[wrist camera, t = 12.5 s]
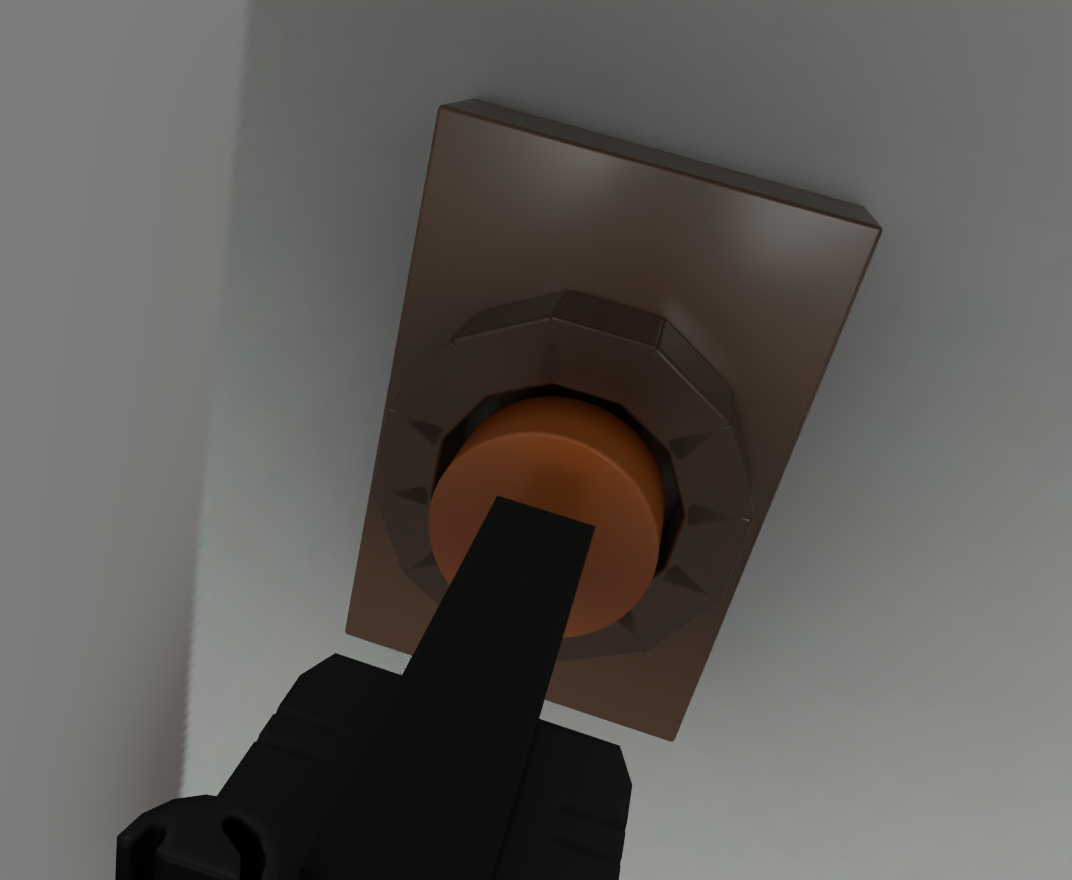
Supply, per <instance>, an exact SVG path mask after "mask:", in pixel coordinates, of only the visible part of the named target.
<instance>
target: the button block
mask: <svg viewBox="0 0 1072 880" xmlns="http://www.w3.org/2000/svg"><path fill="white" fill-rule="evenodd" d="M881 233H882V227H881V226H880V225H879V224H878V223H877V221H876V220H875V219H874V218H873V216H872V215H871V214H870V213H869V212H868V210H867V209H866V208H864V207H862V206H859V205H855V204H852V203H848V202H844V201H841V200H837V199H833V198H830V197H826V196H823V195H819V194H815V193H812V192H808V191H804V190H801V189H797V188H794V187H790V186H786V185H783V184H779V183H776V182H772V181H768V180H765V179H761V178H757V177H754V176H750V175H747V174H743V173H739V172H736V171H732V170H728V169H725V168H721V167H718V166H714V165H710V164H707V163H703V162H699V161H696V160H692V159H689V158H685V157H681V156H678V155H674V154H671V153H667V152H663V151H660V150H656V149H652V148H649V147H645V146H642V145H638V144H634V143H631V142H627V141H623V140H620V139H616V138H613V137H609V136H605V135H602V134H598V133H595V132H591V131H587V130H584V129H580V128H576V127H573V126H569V125H566V124H562V123H558V122H555V121H551V120H547V119H544V118H540V117H537V116H533V115H529V114H526V113H522V112H518V111H515V110H511V109H508V108H504V107H500V106H497V105H493V104H490V103H486V102H482V101H479V100H475V99H471V100H465V101H460V102H455V103H450V104H444V105H440V106H439V108H438V113H437V118H436V124H435V129H434V135H433V141H432V146H431V152H430V157H429V163H428V169H427V174H426V180H425V185H424V191H423V197H422V202H421V208H420V213H419V219H418V225H417V230H416V236H415V241H414V247H413V253H412V258H411V264H410V270H409V275H408V281H407V286H406V292H405V298H404V303H403V309H402V314H401V320H400V326H399V331H398V337H397V342H396V348H395V354H394V359H393V365H392V370H391V376H390V382H389V387H388V393H387V398H386V404H385V410H384V415H383V421H382V427H381V432H380V438H379V443H378V449H377V455H376V460H375V466H374V471H373V477H372V483H371V488H370V494H369V499H368V505H367V511H366V516H365V522H364V527H363V533H362V539H361V544H360V550H359V556H358V561H357V567H356V572H355V578H354V584H353V589H352V595H351V600H350V606H349V612H348V617H347V623H346V628H345V632H346V634H348V635H351V636H354V637H358V638H361V639H364V640H367V641H370V642H373V643H376V644H379V645H382V646H385V647H388V648H391V649H394V650H397V651H400V652H403V653H406V654H409V655H412V656H413V654H414V652H415V650H416V648H417V646H418V644H419V642H420V640H421V639H422V637H423V635H424V633H425V631H426V629H427V627H428V625H429V623H430V622H431V620H432V618H433V616H434V614H435V612H436V610H437V608H438V606H439V605H440V603H441V601H442V599H443V597H444V595H445V593H446V591H447V589H448V588H449V586H450V585H449V584H448V582H447V581H446V579H445V577H444V576H443V574H442V572H441V571H440V569H439V566H438V564H437V562H436V560H435V557H434V554H433V550H432V547H431V543H430V536H429V519H428V517H429V510H430V503H431V500H432V496H433V493H434V490H435V488H436V486H437V484H438V482H439V480H440V478H441V477H442V475H443V474H444V472H445V471H446V469H447V468H448V466H449V465H450V463H451V462H452V460H453V459H454V458H455V456H456V455H457V453H458V452H459V450H460V449H461V447H462V446H463V444H464V443H465V441H466V440H467V438H468V437H469V436H470V434H471V433H472V431H473V430H474V429H475V428H476V427H477V426H478V425H479V424H480V423H481V422H482V421H483V420H484V419H486V418H487V417H488V416H489V415H490V414H492V413H494V412H495V411H497V410H499V409H500V408H502V407H504V406H507V405H509V404H511V403H514V402H517V401H521V400H524V399H528V398H535V397H549V396H557V397H566V398H572V399H577V400H581V401H585V402H588V403H590V404H593V405H596V406H599V407H601V408H602V409H604V410H606V411H608V412H610V413H612V414H614V415H615V416H616V417H618V418H619V419H621V420H622V421H624V422H625V423H626V424H627V425H628V426H630V427H631V428H632V429H633V430H634V431H635V432H636V433H637V434H638V435H639V436H640V438H641V439H642V440H643V441H644V442H645V444H646V445H647V447H648V448H649V449H650V451H651V452H652V454H653V456H654V458H655V460H656V462H657V464H658V466H659V469H660V472H661V475H662V478H663V483H664V489H665V504H666V505H665V514H664V521H663V528H662V535H661V541H660V548H659V555H658V562H657V566H656V569H655V573H654V576H653V578H652V580H651V583H650V585H649V587H648V589H647V590H646V592H645V593H644V595H643V596H642V598H641V599H640V600H639V601H638V603H637V604H636V605H635V606H634V607H633V608H632V609H631V610H630V611H629V612H627V613H626V614H625V615H624V616H623V617H621V618H620V619H618V620H617V621H615V622H614V623H612V624H610V625H608V626H606V627H604V628H602V629H600V630H598V631H594V632H591V633H588V634H585V635H580V636H574V637H565V638H563V639H562V642H561V645H560V649H559V652H558V656H557V659H556V662H555V666H554V669H553V673H552V676H551V679H550V683H549V686H548V690H547V693H546V696H545V700H547V701H550V702H553V703H556V704H559V705H562V706H565V707H568V708H571V709H574V710H577V711H580V712H583V713H586V714H589V715H592V716H595V717H598V718H601V719H604V720H607V721H610V722H613V723H617V724H620V725H623V726H626V727H629V728H632V729H635V730H638V731H641V732H644V733H647V734H650V735H653V736H656V737H659V738H662V739H665V740H668V741H674V740H675V738H676V735H677V733H678V730H679V728H680V725H681V723H682V721H683V718H684V716H685V713H686V711H687V708H688V706H689V703H690V701H691V698H692V696H693V694H694V691H695V689H696V686H697V684H698V681H699V679H700V676H701V674H702V672H703V669H704V667H705V664H706V662H707V659H708V657H709V654H710V652H711V650H712V647H713V645H714V642H715V640H716V637H717V635H718V632H719V630H720V627H721V625H722V623H723V620H724V618H725V615H726V613H727V610H728V608H729V605H730V603H731V601H732V598H733V596H734V593H735V591H736V588H737V586H738V583H739V581H740V579H741V576H742V574H743V571H744V569H745V566H746V564H747V561H748V559H749V557H750V554H751V552H752V549H753V547H754V544H755V542H756V539H757V537H758V534H759V532H760V530H761V527H762V525H763V522H764V520H765V517H766V515H767V512H768V510H769V508H770V505H771V503H772V500H773V498H774V495H775V493H776V490H777V488H778V486H779V483H780V481H781V478H782V476H783V473H784V471H785V468H786V466H787V463H788V461H789V459H790V456H791V454H792V451H793V449H794V446H795V444H796V441H797V439H798V437H799V434H800V432H801V429H802V427H803V424H804V422H805V419H806V417H807V415H808V412H809V410H810V407H811V405H812V402H813V400H814V397H815V395H816V393H817V390H818V388H819V385H820V383H821V380H822V378H823V375H824V373H825V370H826V368H827V366H828V363H829V361H830V358H831V356H832V353H833V351H834V348H835V346H836V344H837V341H838V339H839V336H840V334H841V331H842V329H843V326H844V324H845V322H846V319H847V317H848V314H849V312H850V309H851V307H852V304H853V302H854V299H855V297H856V295H857V292H858V290H859V287H860V285H861V282H862V280H863V277H864V275H865V273H866V270H867V268H868V265H869V263H870V260H871V258H872V255H873V253H874V251H875V248H876V246H877V243H878V241H879V238H880V236H881Z"/></svg>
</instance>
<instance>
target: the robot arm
mask: <svg viewBox="0 0 1072 880" xmlns="http://www.w3.org/2000/svg"><path fill="white" fill-rule="evenodd" d="M595 527H596V526H593V525H590V524H587V523H584V522H581V521H577V520H574V519H571V518H568V517H565V516H561V515H558V514H555V513H552V512H549V511H546V510H542V509H539V508H536V507H533V506H530V505H527V504H523V503H520V502H517V501H514V500H511V499H508V498H504V497H501V496H498V495H497V497H496V499H495V501H494V503H493V504H492V506H491V508H490V510H489V512H488V514H487V516H486V518H485V520H484V521H483V523H482V525H481V527H480V529H479V531H478V533H477V535H476V537H475V538H474V540H473V542H472V544H471V546H470V548H469V550H468V552H467V554H466V555H465V557H464V559H463V561H462V563H461V565H460V567H459V569H458V571H457V572H456V574H455V576H454V578H453V580H452V582H451V584H450V586H449V588H448V589H447V591H446V593H445V595H444V597H443V599H442V601H441V603H440V605H439V606H438V608H437V610H436V612H435V614H434V616H433V618H432V620H431V622H430V623H429V625H428V627H427V629H426V631H425V633H424V635H423V637H422V639H421V640H420V642H419V644H418V646H417V648H416V650H415V652H414V654H413V656H412V657H411V659H410V661H409V663H408V665H407V667H406V669H405V671H404V673H403V674H402V675H399V674H396V673H393V672H390V671H387V670H384V669H381V668H378V667H375V666H372V665H369V664H366V663H363V662H360V661H357V660H354V659H351V658H348V657H345V656H342V655H339V654H337V653H335V654H333V655H332V656H330V657H328V658H327V659H325V660H324V661H322V662H321V663H319V664H317V665H316V666H314V667H313V668H311V669H309V670H308V671H306V672H305V673H303V674H301V675H300V676H299V678H298V679H297V681H296V682H295V684H294V685H293V686H292V688H291V689H290V691H289V692H288V694H287V695H286V697H285V698H284V700H283V701H282V702H281V704H280V705H279V707H278V710H277V712H276V714H273V716H272V717H271V718H270V720H269V721H268V723H267V724H266V726H265V727H264V729H263V730H262V731H261V733H260V734H259V738H258V740H257V742H254V743H253V745H252V746H251V747H250V749H249V750H248V752H247V753H246V755H245V756H244V758H243V759H242V760H241V762H240V763H239V765H238V766H237V768H236V769H235V771H234V772H233V774H232V775H231V776H230V778H229V779H228V781H227V782H226V784H225V785H224V787H223V788H222V790H221V791H220V792H219V794H218V795H217V796H211V795H200V796H193V797H186V798H179V799H173V800H171V801H168V802H167V803H164V804H162V805H160V806H157V807H155V808H153V809H151V810H149V811H147V812H144V813H142V814H141V815H140V816H139V817H138V818H137V819H136V820H134V821H133V822H132V823H131V824H130V825H129V826H128V827H127V828H126V829H125V830H124V831H123V832H121V833H120V834H119V835H118V836H117V850H116V880H619V873H620V861H621V858H622V852H623V845H624V839H625V828H626V824H627V818H628V811H629V804H630V797H631V790H632V783H631V780H630V777H629V773H628V770H627V767H626V764H625V761H624V758H623V755H622V751H621V748H620V746H619V745H616V744H613V743H610V742H607V741H604V740H601V739H598V738H595V737H592V736H589V735H586V734H583V733H580V732H577V731H574V730H571V729H568V728H565V727H562V726H559V725H556V724H553V723H550V722H547V721H544V720H541V719H539V717H540V713H541V710H542V706H543V703H544V700H545V696H546V693H547V690H548V686H549V683H550V679H551V676H552V673H553V669H554V666H555V662H556V659H557V656H558V652H559V649H560V645H561V642H562V639H563V635H564V632H565V629H566V625H567V622H568V618H569V615H570V612H571V608H572V605H573V601H574V598H575V595H576V591H577V588H578V584H579V581H580V578H581V574H582V571H583V567H584V564H585V561H586V557H587V554H588V551H589V547H590V544H591V540H592V537H593V534H594V530H595Z"/></svg>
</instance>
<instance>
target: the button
mask: <svg viewBox="0 0 1072 880" xmlns="http://www.w3.org/2000/svg"><path fill="white" fill-rule="evenodd" d="M497 495H498V496H501V497H504V498H508V499H511V500H514V501H517V502H520V503H523V504H527V505H530V506H533V507H536V508H539V509H542V510H546V511H549V512H552V513H555V514H558V515H561V516H565V517H568V518H571V519H574V520H577V521H581V522H584V523H587V524H590V525H593V526H596V527H595V530H594V534H593V537H592V540H591V544H590V547H589V551H588V554H587V557H586V561H585V564H584V567H583V571H582V574H581V578H580V581H579V584H578V588H577V591H576V595H575V598H574V601H573V605H572V608H571V612H570V615H569V618H568V622H567V625H566V629H565V632H564V635H563V638H565V637H574V636H580V635H585V634H588V633H591V632H594V631H598V630H600V629H602V628H604V627H606V626H608V625H610V624H612V623H614V622H615V621H617V620H618V619H620V618H621V617H623V616H624V615H625V614H626V613H627V612H629V611H630V610H631V609H632V608H633V607H634V606H635V605H636V604H637V603H638V601H639V600H640V599H641V598H642V596H643V595H644V593H645V592H646V590H647V589H648V587H649V585H650V583H651V580H652V578H653V576H654V573H655V569H656V566H657V562H658V555H659V548H660V541H661V535H662V528H663V521H664V514H665V505H666V504H665V489H664V483H663V478H662V475H661V472H660V469H659V466H658V464H657V462H656V460H655V458H654V456H653V454H652V452H651V451H650V449H649V448H648V447H647V445H646V444H645V442H644V441H643V440H642V439H641V438H640V436H639V435H638V434H637V433H636V432H635V431H634V430H633V429H632V428H631V427H630V426H628V425H627V424H626V423H625V422H624V421H622V420H621V419H619V418H618V417H616V416H615V415H614V414H612V413H610V412H608V411H606V410H604V409H602V408H601V407H599V406H596V405H593V404H590V403H588V402H585V401H581V400H577V399H572V398H566V397H557V396H549V397H535V398H528V399H524V400H521V401H517V402H514V403H511V404H509V405H507V406H504V407H502V408H500V409H499V410H497V411H495V412H494V413H492V414H490V415H489V416H488V417H487V418H486V419H484V420H483V421H482V422H481V423H480V424H479V425H478V426H477V427H476V428H475V429H474V430H473V431H472V433H471V434H470V436H469V437H468V438H467V440H466V441H465V443H464V444H463V446H462V447H461V449H460V450H459V452H458V453H457V455H456V456H455V458H454V459H453V460H452V462H451V463H450V465H449V466H448V468H447V469H446V471H445V472H444V474H443V475H442V477H441V478H440V480H439V482H438V484H437V486H436V488H435V490H434V493H433V496H432V500H431V503H430V510H429V517H428V519H429V536H430V543H431V547H432V550H433V554H434V557H435V560H436V562H437V564H438V566H439V569H440V571H441V572H442V574H443V576H444V577H445V579H446V581H447V582H448V584H449V585H450V584H451V582H452V580H453V578H454V576H455V574H456V572H457V571H458V569H459V567H460V565H461V563H462V561H463V559H464V557H465V555H466V554H467V552H468V550H469V548H470V546H471V544H472V542H473V540H474V538H475V537H476V535H477V533H478V531H479V529H480V527H481V525H482V523H483V521H484V520H485V518H486V516H487V514H488V512H489V510H490V508H491V506H492V504H493V503H494V501H495V499H496V497H497Z"/></svg>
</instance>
